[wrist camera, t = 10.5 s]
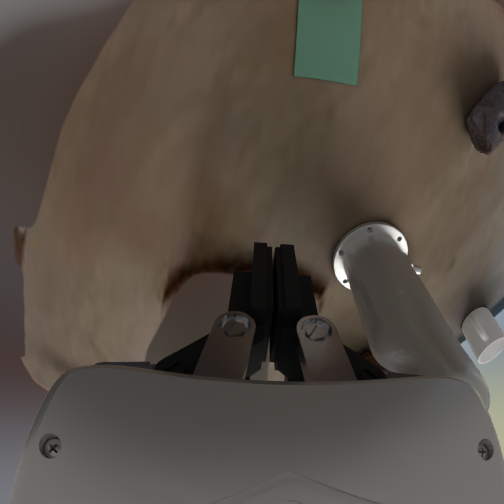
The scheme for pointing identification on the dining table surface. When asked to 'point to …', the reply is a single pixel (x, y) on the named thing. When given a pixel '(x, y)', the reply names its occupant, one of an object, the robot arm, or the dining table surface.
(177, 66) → the dining table surface
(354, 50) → the strip
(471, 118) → the perforated stone tool
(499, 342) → the mug
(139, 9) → the dining table surface
